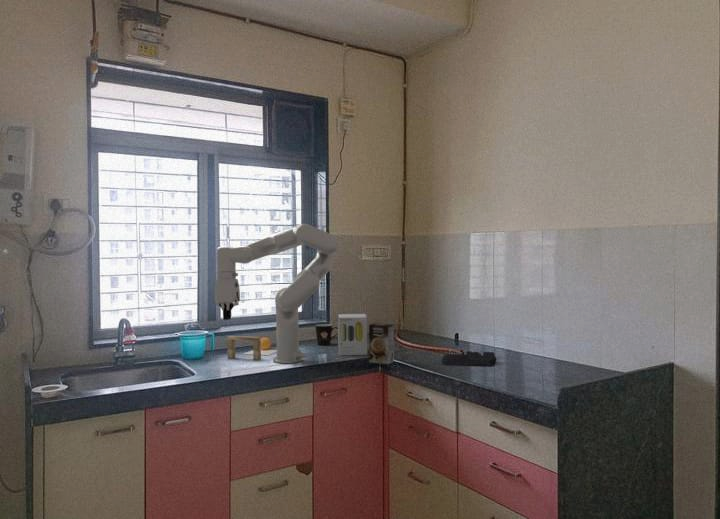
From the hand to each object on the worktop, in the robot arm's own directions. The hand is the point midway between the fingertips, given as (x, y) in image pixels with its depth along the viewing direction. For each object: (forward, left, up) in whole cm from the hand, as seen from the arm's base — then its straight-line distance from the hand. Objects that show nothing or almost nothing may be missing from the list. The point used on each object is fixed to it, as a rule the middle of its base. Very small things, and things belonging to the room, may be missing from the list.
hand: (227, 319), depth 219 cm
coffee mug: (-22, -56, -19) cm, 63 cm away
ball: (+2, -35, -16) cm, 39 cm away
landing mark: (0, -29, -19) cm, 35 cm away
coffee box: (-61, -22, -19) cm, 68 cm away
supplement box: (-42, -39, -19) cm, 61 cm away
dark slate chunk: (-96, -31, -20) cm, 103 cm away
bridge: (0, -13, -19) cm, 23 cm away
